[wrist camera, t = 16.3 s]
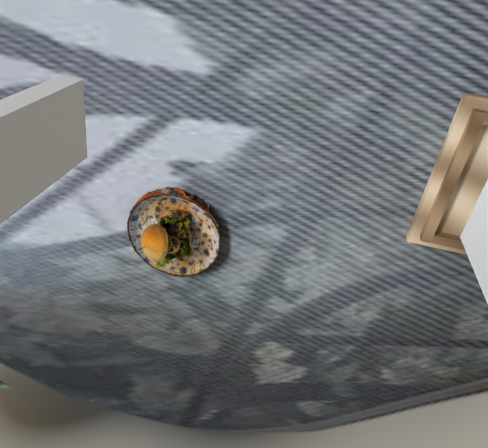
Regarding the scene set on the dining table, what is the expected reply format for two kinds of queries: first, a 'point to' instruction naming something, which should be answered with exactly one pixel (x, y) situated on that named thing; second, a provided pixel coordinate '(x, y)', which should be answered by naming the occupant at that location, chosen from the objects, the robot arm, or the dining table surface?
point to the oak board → (454, 179)
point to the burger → (174, 232)
